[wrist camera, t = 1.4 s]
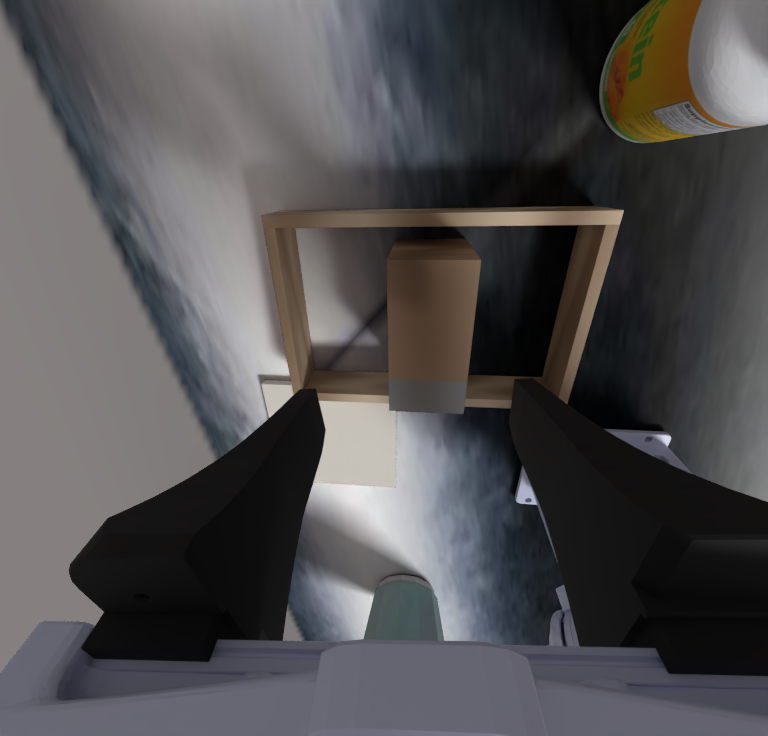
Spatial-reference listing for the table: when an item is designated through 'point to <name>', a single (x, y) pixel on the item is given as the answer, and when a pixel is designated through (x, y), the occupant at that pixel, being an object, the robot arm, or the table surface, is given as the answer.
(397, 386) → the block
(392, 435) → the pad
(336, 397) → the frame
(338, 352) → the table surface
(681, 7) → the supplement bottle
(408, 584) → the disposable coffee cup
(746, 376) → the table surface
